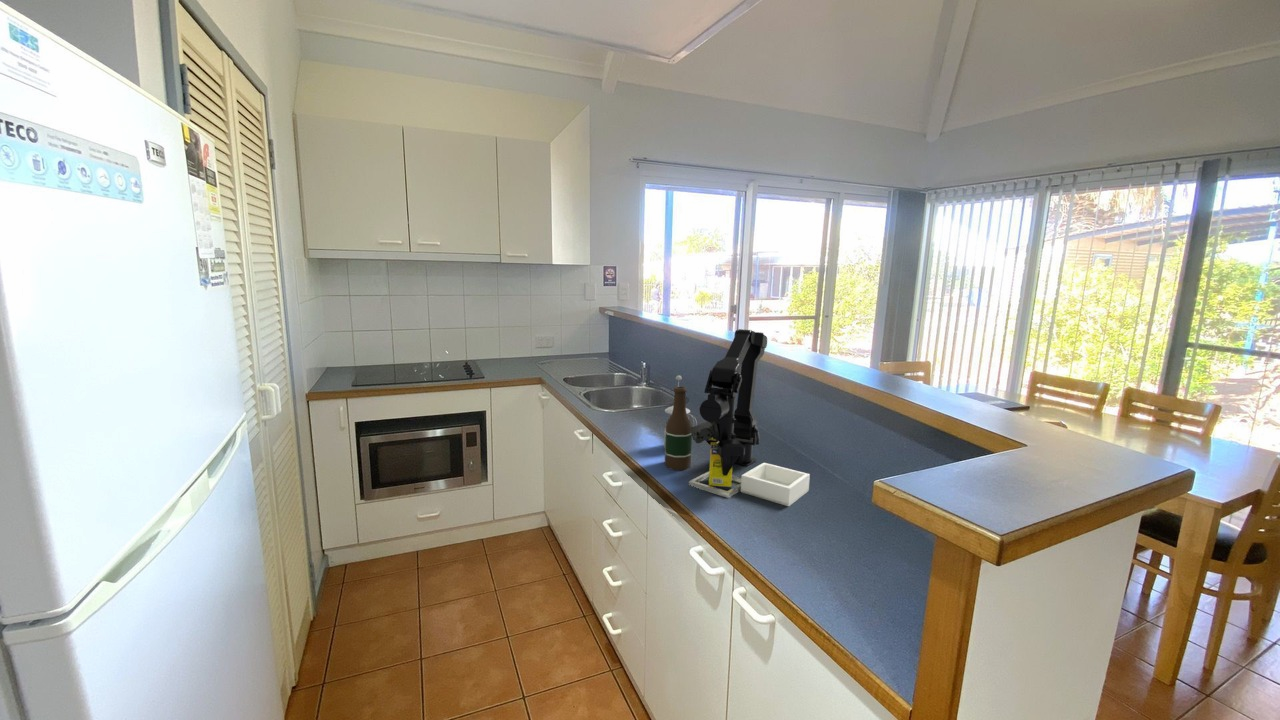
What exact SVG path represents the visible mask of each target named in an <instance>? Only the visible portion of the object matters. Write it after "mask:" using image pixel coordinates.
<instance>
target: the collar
mask: <svg viewBox="0 0 1280 720" xmlns="http://www.w3.org/2000/svg"><path fill="white" fill-rule="evenodd" d="M741 478H742V476H741V477H740V476H738V475H734V474H732V481H733V482H735V483H738V484H737V485H736V486H734V487H731V489H730V490H729V489H728V490H726V489H718V488H715V487H712V486H709V484H704V483H701V482H702V481H704V480H706V479H709V471H706V472H705V473H702V474H700V475H699V476H697V477H695V478H692V479H690V480H689V481H688V486H690V485H691V486H690V487H693V486H694V487H693V488H695V487H696V489H698V488H699V489H698V490H703V491H704V492H705V491H706V492H708V493H712V494H715V495H716V496H717V495H718V496H720V497H724V498H728V499H730V498H732V496H734V495H736V494H738V493H739V492H741ZM700 481H701V482H700Z"/></svg>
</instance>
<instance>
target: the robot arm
mask: <svg viewBox="0 0 1280 720" xmlns="http://www.w3.org/2000/svg"><path fill="white" fill-rule="evenodd" d="M767 346H768V337H767V336H766V335H765V334H764V332H761V331H760V332H758V331H754V330H752V329H742V328H741V329H740V328H739V329H736V330H735V332H734V338H733V339H732V342H731V344H730V345H729V348H728V350H727V352H726V353H725V356H724V357H723V358H722V359H720V360H719V361H716V363H715V364H714V366H713V367H712V369H710V371H709V375H708V378H707V381H706V384H705V389H704V393H705V394H707V398H706V399H705V400H703V401H702V403H701V404H700V406H699V414H700V416H701V417H702V419H703V420H705V421H706V422H702V423H699V424H697V425H696V424H695V425H694V426H692V427H691V428H690V431H691V434H692V440H693V441H694V442H695V443H696V444H701V443H703V442H704V441H706V443H707V444H708V445H709V447H711V442H718V444H717V450H718V451H716V452H717V453H718V454H719V455H720V456H721V465H722V474H723V476H726V475H727V474H728V473H729V471H730V469H731V467H732V468H733V465H734V464H738V465H741V466H746V467H748V466H750V465H751V464H753V463H755V462H757V459H756V458H753V448H754V447H753V446H756V445H760V441H761V439H760V436H761V435H760V432H759V427H758V424H757V418H756V415H755V414H754V412H753V405H754V404H753V403H754V397H755V395H754V394H755V387H756V386H755V385H756V378H757V370H758V369H757V368H758V362H759V361H760V360H761V358H762V357H763V356H764V355H765V350H766V348H767ZM736 395H737V400H736ZM736 401H737V402H736ZM735 407H736V408H735Z"/></svg>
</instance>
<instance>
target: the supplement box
mask: <svg viewBox="0 0 1280 720" xmlns="http://www.w3.org/2000/svg"><path fill="white" fill-rule="evenodd" d="M717 444H718V442H711V447H710V446H709V447H710V448H709V450H710V452H709V468H708V469H709V477H708V486H712V487H715V488H718V489H721V490H728V491H729V490H730V489H732V475H733V466H732V467H731V469H730V471H729V473H728V474H727V475H726V476H723V474H722V465H721V456H720V455H719V454H718V453H717V452H716V451H718V450H717Z"/></svg>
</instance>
